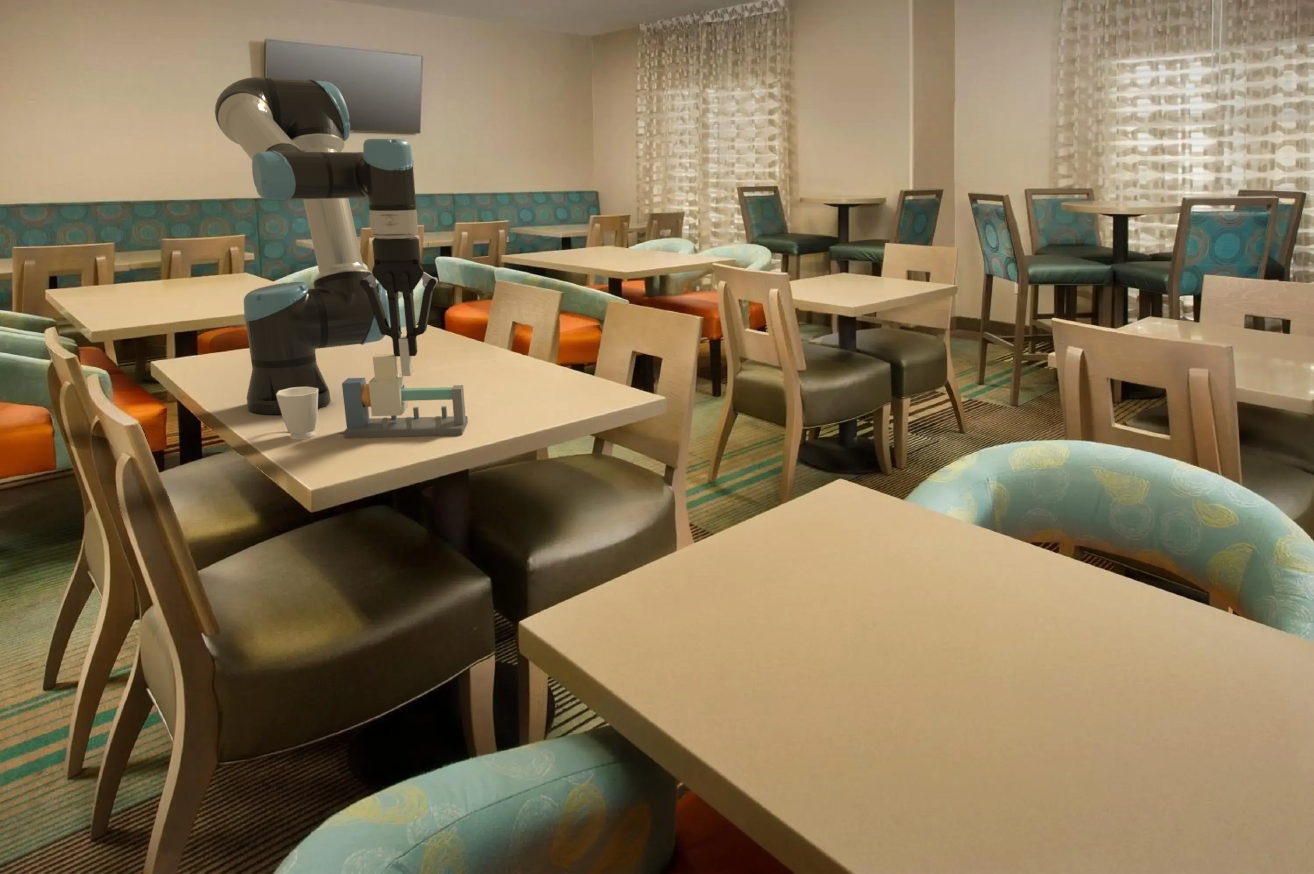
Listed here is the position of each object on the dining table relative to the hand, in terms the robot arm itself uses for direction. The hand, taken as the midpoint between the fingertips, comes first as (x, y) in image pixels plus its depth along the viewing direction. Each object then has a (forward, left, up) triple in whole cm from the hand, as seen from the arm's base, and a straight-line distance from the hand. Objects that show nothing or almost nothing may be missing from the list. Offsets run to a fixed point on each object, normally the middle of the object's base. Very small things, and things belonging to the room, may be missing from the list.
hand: (407, 374), depth 153 cm
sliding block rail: (0, -1, -10) cm, 10 cm away
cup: (-9, -17, -10) cm, 22 cm away
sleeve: (-2, -3, -7) cm, 7 cm away
